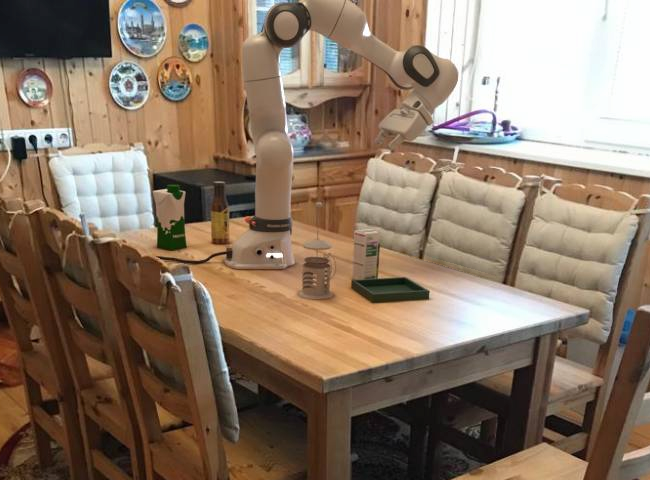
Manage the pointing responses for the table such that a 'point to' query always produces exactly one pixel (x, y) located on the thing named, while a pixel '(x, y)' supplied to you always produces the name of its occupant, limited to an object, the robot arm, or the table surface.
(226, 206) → the sauce bottle
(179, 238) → the milk carton
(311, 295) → the french press
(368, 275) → the syrup box
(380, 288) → the tray
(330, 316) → the table surface
